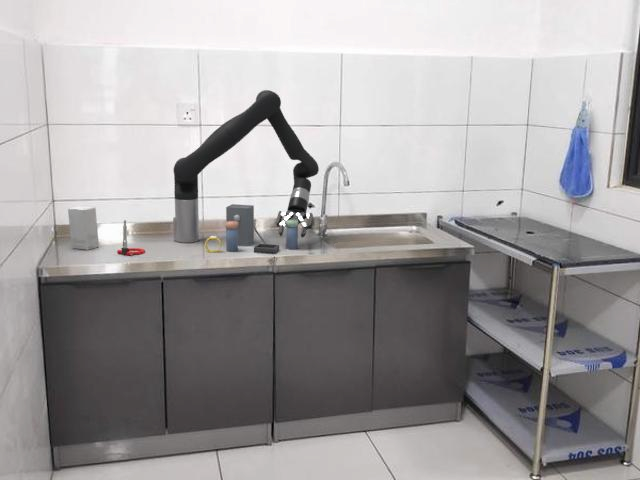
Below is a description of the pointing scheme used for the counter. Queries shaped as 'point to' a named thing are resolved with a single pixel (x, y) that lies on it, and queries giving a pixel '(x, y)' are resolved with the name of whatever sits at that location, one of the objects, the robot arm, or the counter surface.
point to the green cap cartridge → (291, 234)
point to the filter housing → (242, 222)
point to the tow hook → (126, 250)
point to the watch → (213, 238)
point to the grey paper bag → (83, 227)
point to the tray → (266, 248)
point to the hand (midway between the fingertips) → (291, 235)
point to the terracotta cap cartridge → (231, 236)
